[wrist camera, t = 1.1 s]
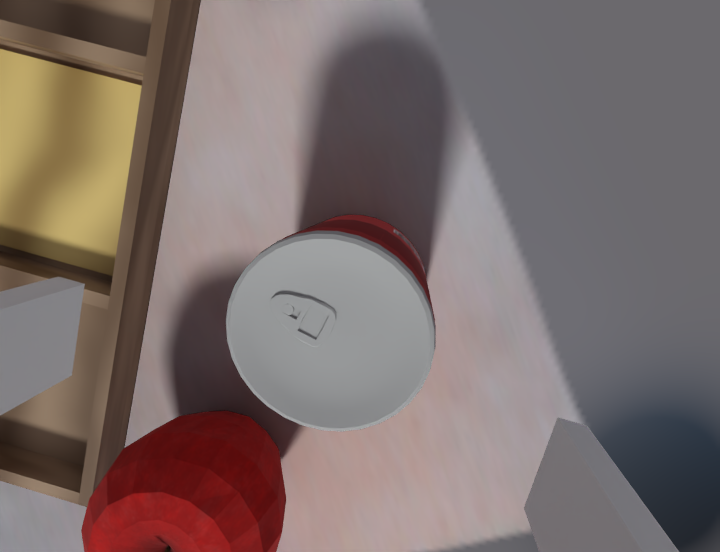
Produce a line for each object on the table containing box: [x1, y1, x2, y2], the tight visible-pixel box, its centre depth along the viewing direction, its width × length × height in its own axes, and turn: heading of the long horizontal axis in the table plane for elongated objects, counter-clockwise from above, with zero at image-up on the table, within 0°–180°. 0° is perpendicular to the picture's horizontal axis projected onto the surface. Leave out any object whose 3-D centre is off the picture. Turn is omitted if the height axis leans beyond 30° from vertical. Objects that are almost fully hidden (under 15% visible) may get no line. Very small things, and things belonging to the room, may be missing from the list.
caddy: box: [0, 0, 200, 507], centre depth 28 cm, size 14×39×3 cm, turn 165°
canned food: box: [226, 215, 435, 431], centre depth 23 cm, size 8×8×11 cm
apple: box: [81, 411, 286, 552], centre depth 26 cm, size 10×10×11 cm
